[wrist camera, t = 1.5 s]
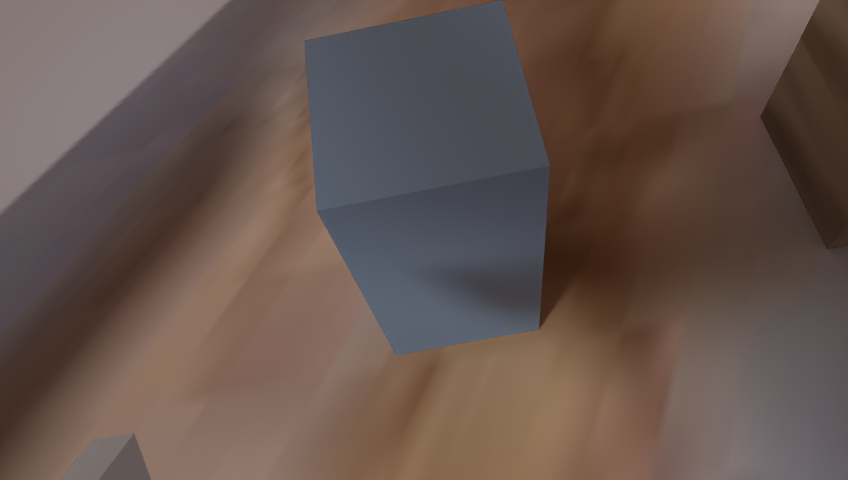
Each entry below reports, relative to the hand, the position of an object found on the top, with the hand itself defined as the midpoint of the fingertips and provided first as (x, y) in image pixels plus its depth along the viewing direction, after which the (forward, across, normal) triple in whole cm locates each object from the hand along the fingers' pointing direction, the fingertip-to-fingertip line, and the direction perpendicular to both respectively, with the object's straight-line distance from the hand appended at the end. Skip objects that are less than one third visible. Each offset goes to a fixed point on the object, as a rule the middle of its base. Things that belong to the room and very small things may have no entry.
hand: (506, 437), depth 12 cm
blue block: (+17, -1, -3) cm, 17 cm away
